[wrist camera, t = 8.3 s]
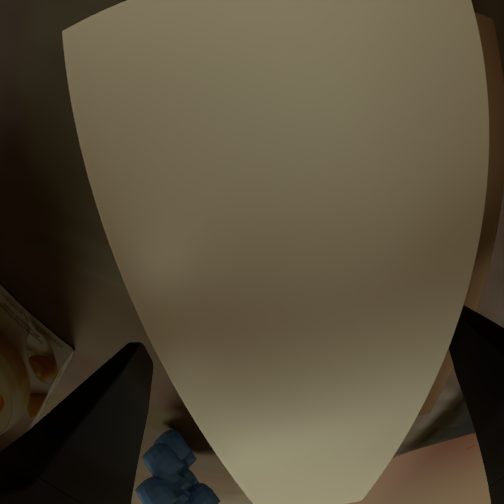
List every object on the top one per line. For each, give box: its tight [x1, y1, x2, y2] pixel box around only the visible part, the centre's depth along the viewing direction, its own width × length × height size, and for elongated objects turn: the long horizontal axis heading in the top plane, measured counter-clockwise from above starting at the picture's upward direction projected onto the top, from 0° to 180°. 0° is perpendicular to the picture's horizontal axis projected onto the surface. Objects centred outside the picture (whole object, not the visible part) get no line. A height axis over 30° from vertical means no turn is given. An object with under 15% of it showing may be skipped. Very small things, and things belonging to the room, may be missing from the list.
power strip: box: [62, 0, 489, 504], centre depth 8 cm, size 4×14×7 cm, turn 9°
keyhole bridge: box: [417, 12, 504, 416], centre depth 11 cm, size 11×18×5 cm, turn 9°
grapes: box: [135, 430, 220, 504], centre depth 18 cm, size 12×7×12 cm, turn 1°
